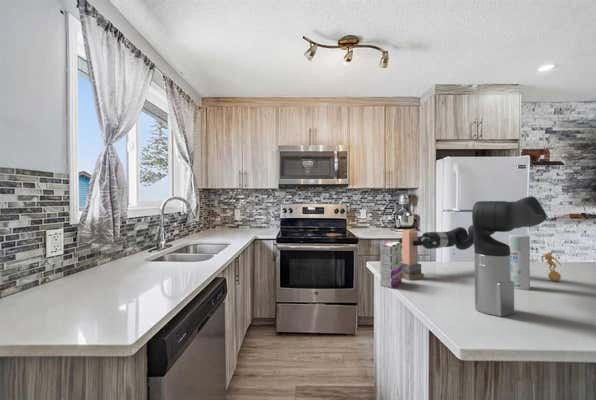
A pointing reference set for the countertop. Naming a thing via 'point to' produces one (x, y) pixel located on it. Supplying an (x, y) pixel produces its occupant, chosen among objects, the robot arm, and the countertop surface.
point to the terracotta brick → (409, 247)
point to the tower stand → (411, 271)
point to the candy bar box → (390, 264)
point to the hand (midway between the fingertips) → (406, 242)
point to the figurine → (553, 274)
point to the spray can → (520, 261)
